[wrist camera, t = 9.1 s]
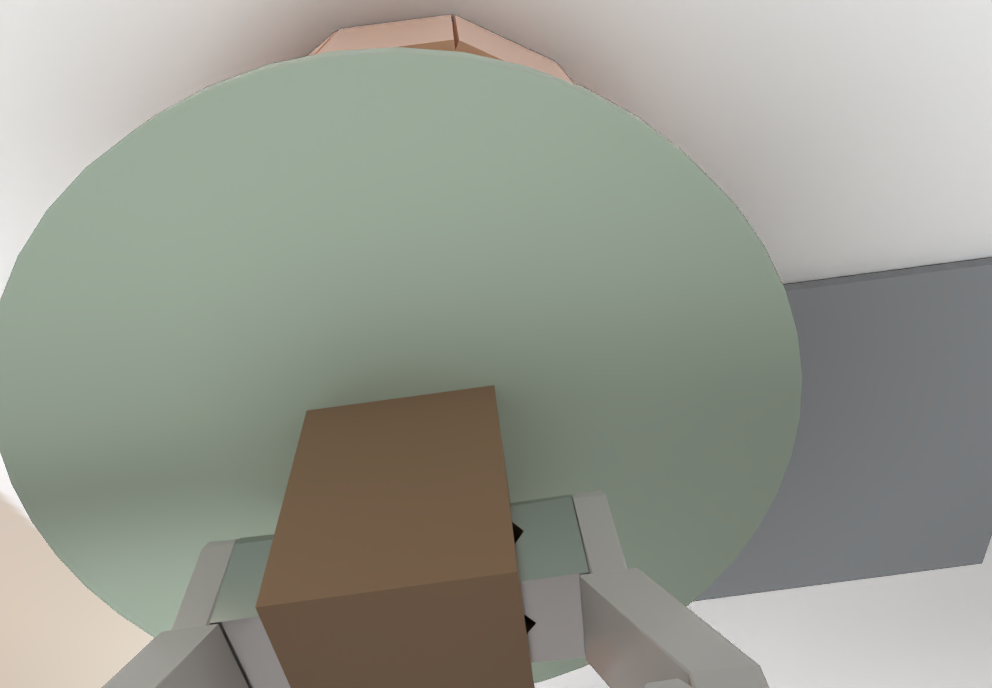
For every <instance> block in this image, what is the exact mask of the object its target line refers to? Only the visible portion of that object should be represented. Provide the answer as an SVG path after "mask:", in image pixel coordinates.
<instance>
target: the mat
mask: <svg viewBox="0 0 992 688" xmlns="http://www.w3.org/2000/svg"><path fill="white" fill-rule="evenodd" d="M783 286H784V288H785V290H786V294H787V298H788V301H789V305H790V308H791V312H792V315H793V319H794V322H795V326H796V330H797V333H798V342H799V351H800V360H801V370H802V389H801V406H800V419H799V424H798V428H797V433H796V437H795V442H794V446H793V451H792V456H791V459H790V461H789V464H788V466H787V469H786V472H785V474H784V477H783V480H782V482H781V485H780V488H779V490H778V493H777V495H776V497H775V498H774V500H773V502H772V504H771V506H770V507H769V509H768V511H767V513H766V515H765V517H764V518H763V520H762V522H761V524H760V526H759V527H758V529H757V530H756V531H755V533H754V534H753V536H752V537H751V538H750V540H749V541H748V542H747V544H746V545H745V547H744V548H743V549H742V551H741V552H740V553H739V555H738V556H737V558H736V559H735V560H734V561H733V562H732V563H731V564H730V565H729V566H728V567H727V568H726V569H725V571H724V572H723V573H722V574H721V575H720V576H719V577H718V578H717V579H716V580H715V581H714V582H713V583H712V585H711V586H710V587H708V588H707V589H706V590H705V591H704V592H703V593H701V594H700V595H699V596H698V597H697V598H696V599H694V600H693V601H699V600H707V599H714V598H722V597H729V596H737V595H745V594H752V593H760V592H767V591H775V590H783V589H790V588H798V587H806V586H813V585H821V584H828V583H836V582H844V581H851V580H859V579H866V578H874V577H882V576H889V575H897V574H904V573H912V572H920V571H927V570H935V569H942V568H950V567H958V566H965V565H973V564H980V563H982V562H983V559H984V556H985V553H986V550H987V547H988V544H989V542H990V539H991V536H992V257H991V258H984V259H976V260H969V261H961V262H953V263H946V264H938V265H930V266H923V267H915V268H907V269H900V270H892V271H884V272H877V273H869V274H862V275H854V276H846V277H839V278H831V279H823V280H816V281H808V282H800V283H793V284H785V285H783Z"/></svg>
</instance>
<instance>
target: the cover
mask: <svg viewBox="0 0 992 688" xmlns="http://www.w3.org/2000/svg"><path fill="white" fill-rule="evenodd" d="M801 389H802V370H801V360H800V351H799V342H798V333H797V330H796V326H795V322H794V319H793V315H792V312H791V308H790V305H789V301H788V298H787V294H786V290H785V288H784V286H783V284H782V282H781V280H780V278H779V276H778V273H777V271H776V269H775V267H774V265H773V263H772V261H771V259H770V257H769V254H768V252H767V250H766V248H765V246H764V245H763V243H762V242H761V241H760V239H759V238H758V236H757V235H756V233H755V232H754V230H753V229H752V228H751V226H750V225H749V223H748V222H747V220H746V219H745V218H744V216H743V215H742V213H741V212H740V210H739V209H738V207H737V206H736V205H735V204H734V203H733V202H732V201H731V199H730V198H729V197H728V196H727V195H726V194H725V193H724V192H723V191H722V190H721V189H720V188H719V187H718V186H717V185H716V184H715V183H714V182H713V181H712V180H711V179H710V178H709V177H708V176H707V175H706V174H705V173H704V172H703V171H702V170H701V168H700V167H699V166H698V165H697V164H696V163H695V162H693V161H692V160H691V159H690V158H689V157H688V156H687V155H686V154H685V153H684V152H683V151H682V150H681V149H679V148H678V147H677V146H676V145H674V144H673V143H672V142H670V141H669V140H668V139H666V138H665V137H664V136H662V135H661V134H660V133H658V132H657V131H656V130H654V129H653V128H652V127H650V126H649V125H648V124H646V123H645V122H644V121H643V120H641V119H640V118H639V117H637V116H636V115H634V114H632V113H630V112H628V111H627V110H625V109H623V108H621V107H619V106H617V105H616V104H614V103H612V102H610V101H608V100H606V99H605V98H603V97H601V96H599V95H597V94H595V93H594V92H592V91H590V90H588V89H586V88H584V87H582V86H579V85H576V84H574V83H571V82H568V81H566V80H563V79H560V78H558V77H555V76H552V75H550V74H547V73H544V72H542V71H539V70H536V69H533V68H531V67H528V66H525V65H520V64H516V63H511V62H506V61H502V60H497V59H493V58H488V57H484V56H479V55H475V54H470V53H466V52H456V51H443V50H430V49H417V48H404V47H390V48H374V49H358V50H342V51H330V52H325V53H321V54H316V55H311V56H306V57H301V58H296V59H292V60H287V61H282V62H277V63H272V64H268V65H265V66H262V67H259V68H257V69H254V70H251V71H248V72H246V73H243V74H240V75H238V76H235V77H232V78H229V79H227V80H224V81H221V82H218V83H216V84H213V85H210V86H208V87H206V88H204V89H202V90H200V91H199V92H197V93H195V94H193V95H191V96H189V97H188V98H186V99H184V100H182V101H180V102H178V103H177V104H175V105H173V106H171V107H169V108H168V109H166V110H164V111H162V112H160V113H158V114H157V115H155V116H153V117H152V118H151V119H149V120H148V121H146V122H145V123H144V124H142V125H141V126H139V127H138V128H137V129H135V130H134V131H132V132H131V133H130V134H129V135H127V136H126V137H125V138H123V139H122V140H121V141H120V142H118V143H117V144H116V145H114V146H113V147H112V148H111V149H109V150H108V151H107V152H105V153H104V154H103V155H102V156H100V157H99V158H98V159H96V160H95V161H94V162H93V163H91V164H90V165H89V166H87V167H86V168H85V169H84V170H83V171H82V173H81V174H80V175H79V176H78V177H77V178H76V179H75V180H74V181H73V182H72V183H71V185H70V186H69V187H68V188H67V189H66V190H65V191H64V192H63V193H62V194H61V195H60V197H59V198H58V199H57V200H56V201H55V202H54V203H53V204H52V205H51V206H50V208H49V209H48V210H47V211H46V213H45V214H44V216H43V217H42V219H41V220H40V222H39V224H38V225H37V227H36V228H35V230H34V232H33V233H32V235H31V236H30V238H29V239H28V241H27V243H26V244H25V246H24V247H23V249H22V251H21V252H20V254H19V255H18V257H17V260H16V262H15V265H14V267H13V270H12V272H11V275H10V277H9V280H8V282H7V285H6V287H5V290H4V292H3V295H2V297H1V300H0V452H1V455H2V458H3V461H4V464H5V467H6V469H7V472H8V475H9V478H10V481H11V484H12V485H13V487H14V489H15V491H16V493H17V495H18V497H19V499H20V500H21V502H22V504H23V506H24V508H25V510H26V512H27V514H28V515H29V517H30V519H31V521H32V523H33V524H34V525H35V527H36V528H37V529H38V531H39V532H40V534H41V535H42V536H43V538H44V539H45V540H46V542H47V543H48V545H49V546H50V547H51V549H52V550H53V551H54V553H55V554H56V555H57V556H58V558H59V559H61V561H62V562H63V563H64V564H65V565H66V566H67V567H68V568H69V569H70V570H71V571H72V572H73V573H74V575H75V576H76V577H77V578H78V579H79V580H80V581H81V582H82V583H83V584H84V585H85V586H86V587H87V588H88V589H89V590H91V591H92V592H93V593H94V594H95V595H97V596H98V597H99V598H100V599H101V600H103V601H104V602H105V603H107V604H108V605H109V606H110V607H111V608H112V609H114V610H115V611H116V612H117V613H118V614H120V615H121V616H123V617H124V618H126V619H127V620H129V621H130V622H132V623H133V624H135V625H136V626H138V627H139V628H141V629H142V630H144V631H145V632H147V633H148V634H150V635H151V636H153V637H154V638H155V637H156V636H157V635H158V634H159V633H161V632H162V631H168V630H171V629H172V627H173V624H174V621H175V619H176V616H177V613H178V611H179V608H180V605H181V603H182V600H183V597H184V595H185V592H186V589H187V587H188V584H189V581H190V579H191V576H192V573H193V571H194V568H195V565H196V563H197V560H198V557H199V555H200V552H201V550H202V549H203V547H204V546H205V545H206V544H207V543H208V542H213V541H222V540H232V539H240V538H244V537H253V536H262V535H271V534H274V537H273V541H272V545H271V549H270V553H269V557H268V560H267V564H266V568H265V572H264V576H263V580H262V583H261V587H260V591H259V595H258V599H257V603H256V606H255V608H256V610H257V613H258V615H259V617H260V619H261V622H262V624H263V626H264V629H265V631H266V633H267V635H268V638H269V640H270V642H271V644H272V647H273V649H274V651H275V653H276V656H277V658H278V660H279V663H280V665H281V667H282V669H283V672H284V674H285V676H286V678H287V681H288V683H289V685H290V687H291V688H535V687H534V683H537V682H541V681H545V680H547V679H550V678H553V677H556V676H559V675H562V674H564V673H567V672H570V671H573V670H576V669H579V668H581V667H584V666H586V665H588V664H589V663H588V661H587V660H586V657H582V658H572V659H563V660H554V661H544V662H535V663H531V659H530V652H529V645H528V638H527V631H526V623H525V615H524V610H523V603H522V596H521V588H520V581H519V573H518V565H517V558H516V550H515V540H514V533H513V525H512V518H511V510H510V503H513V502H520V501H527V500H534V499H541V498H548V497H555V496H562V495H569V494H570V495H571V494H575V493H581V492H588V491H595V490H602V491H603V492H604V493H605V495H606V498H607V501H608V505H609V508H610V511H611V515H612V518H613V522H614V525H615V528H616V532H617V535H618V538H619V542H620V545H621V548H622V552H623V555H624V558H625V562H626V565H627V569H629V568H638V569H639V570H641V571H642V572H643V573H644V574H646V575H647V576H648V577H649V578H651V579H652V580H653V581H654V582H656V583H657V584H658V585H659V586H661V587H662V588H663V589H664V590H666V591H667V592H668V593H669V594H671V595H672V596H673V597H674V598H676V599H677V600H678V601H679V602H681V603H682V604H683V605H684V606H688V605H689V604H690V603H691V602H692V601H693V600H694V599H696V598H697V597H698V596H699V595H700V594H701V593H703V592H704V591H705V590H706V589H707V588H708V587H710V586H711V585H712V583H713V582H714V581H715V580H716V579H717V578H718V577H719V576H720V575H721V574H722V573H723V572H724V571H725V569H726V568H727V567H728V566H729V565H730V564H731V563H732V562H733V561H734V560H735V559H736V558H737V556H738V555H739V553H740V552H741V551H742V549H743V548H744V547H745V545H746V544H747V542H748V541H749V540H750V538H751V537H752V536H753V534H754V533H755V531H756V530H757V529H758V527H759V526H760V524H761V522H762V520H763V518H764V517H765V515H766V513H767V511H768V509H769V507H770V506H771V504H772V502H773V500H774V498H775V497H776V495H777V493H778V490H779V488H780V485H781V482H782V480H783V477H784V474H785V472H786V469H787V466H788V464H789V461H790V459H791V456H792V451H793V446H794V442H795V437H796V433H797V428H798V424H799V419H800V406H801Z"/></svg>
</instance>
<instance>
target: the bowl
mask: <svg viewBox="0 0 992 688" xmlns="http://www.w3.org/2000/svg"><path fill="white" fill-rule="evenodd" d="M390 47H404V48H417V49H430V50H443V51H456V52H466V53H470V54H475V55H479V56H484V57H488V58H493V59H497V60H502V61H506V62H511V63H516V64H520V65H525V66H528V67H531V68H533V69H536V70H539V71H542V72H544V73H547V74H550V75H552V76H555V77H558V78H560V79H563V80H566V81H568V82H571V83H573V82H572V81H571V79H570V78H569V77H568V76H567V74H566V73H565V72H564V71H563V70H562V68H561V67H560V66H559V65H558V64H557V63H556V62H555V61H553V60H551V59H549V58H547V57H544V56H542V55H540V54H538V53H536V52H534V51H531V50H529V49H527V48H525V47H523V46H521V45H519V44H516V43H514V42H512V41H510V40H508V39H506V38H504V37H501V36H499V35H497V34H495V33H493V32H491V31H489V30H486V29H484V28H482V27H480V26H478V25H476V24H473V23H471V22H469V21H467V20H465V19H463V18H461V17H458V16H456V15H455V16H454V19H453V22H452V18H451V14H449V15H441V16H434V17H426V18H418V19H411V20H403V21H395V22H388V23H380V24H372V25H365V26H357V27H349V28H341V29H339V30H338V31H335V32H334V33H333V34H332V35H330V36H329V37H328V38H327V39H326V40H325V41H323V42H322V43H321V44H320V45H319V46H318V47H317V48H315V49H314V50H313V51H312V52H311V53H310V54H309V55H307V56H311V55H316V54H321V53H325V52H330V51H342V50H358V49H374V48H390Z"/></svg>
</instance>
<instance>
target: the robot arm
mask: <svg viewBox="0 0 992 688" xmlns="http://www.w3.org/2000/svg"><path fill="white" fill-rule="evenodd" d="M510 510H511V518H512V525H513V533H514V540H515V550H516V558H517V565H518V573H519V581H520V588H521V596H522V603H523V610H524V615H525V623H526V631H527V638H528V645H529V652H530V659H531V663H535V662H544V661H554V660H563V659H572V658H582V657H586V660H587V661H588V663H589V664H590V665H591V666H592V667H593V668H594V670H595V671H596V672H597V673H598V674H599V675H600V676H601V678H602V679H603V680H604V681H605V682H606V683H607V685H608V686H609V687H610V688H769V686H768V684H767V681H766V679H765V677H764V674H763V672H762V670H761V667H760V665H758V664H757V663H756V662H755V661H753V660H752V659H751V658H750V657H748V656H747V655H746V654H745V653H743V652H742V651H741V650H740V649H738V648H737V647H736V646H735V645H733V644H732V643H731V642H730V641H728V640H727V639H726V638H725V637H723V636H722V635H721V634H720V633H718V632H717V631H716V630H714V629H713V628H712V627H711V626H709V625H708V624H707V623H706V622H704V621H703V620H702V619H701V618H699V617H698V616H697V615H696V614H694V613H693V612H692V611H691V610H689V609H688V608H687V607H686V606H684V605H683V604H682V603H681V602H679V601H678V600H677V599H676V598H674V597H673V596H672V595H671V594H669V593H668V592H667V591H666V590H664V589H663V588H662V587H661V586H659V585H658V584H657V583H656V582H654V581H653V580H652V579H651V578H649V577H648V576H647V575H646V574H644V573H643V572H642V571H641V570H639V569H638V568H629V569H627V565H626V562H625V558H624V555H623V552H622V548H621V545H620V542H619V538H618V535H617V532H616V528H615V525H614V522H613V518H612V515H611V511H610V508H609V505H608V501H607V498H606V495H605V493H604V492H603V491H602V490H595V491H588V492H581V493H575V494H571V495H570V494H569V495H562V496H555V497H548V498H541V499H534V500H527V501H520V502H513V503H510ZM273 537H274V534H271V535H262V536H253V537H244V538H240V539H232V540H222V541H213V542H208V543H207V544H206V545H205V546H204V547H203V549H202V550H201V552H200V555H199V557H198V560H197V563H196V565H195V568H194V571H193V573H192V576H191V579H190V581H189V584H188V587H187V589H186V592H185V595H184V597H183V600H182V603H181V605H180V608H179V611H178V613H177V616H176V619H175V621H174V624H173V627H172V629H171V630H168V631H162V632H161V633H159V634H158V635H157V636H156V637H155V638H154V639H153V640H152V641H151V642H150V643H149V644H148V645H147V646H146V647H145V648H144V649H142V650H141V651H140V652H139V653H138V654H137V655H136V656H135V657H134V658H133V659H132V660H131V661H130V662H129V663H128V664H127V665H126V666H125V667H123V669H121V670H120V671H119V672H118V673H117V674H116V675H115V676H114V677H113V678H112V679H111V680H110V681H108V682H107V684H105V685H104V686H103V687H102V688H291V687H290V685H289V683H288V681H287V678H286V676H285V674H284V672H283V669H282V667H281V665H280V663H279V660H278V658H277V656H276V653H275V651H274V649H273V647H272V644H271V642H270V640H269V638H268V635H267V633H266V631H265V629H264V626H263V624H262V622H261V619H260V617H259V615H258V613H257V610H256V608H255V606H256V603H257V599H258V595H259V591H260V587H261V583H262V580H263V576H264V572H265V568H266V564H267V560H268V557H269V553H270V549H271V545H272V541H273Z"/></svg>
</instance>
